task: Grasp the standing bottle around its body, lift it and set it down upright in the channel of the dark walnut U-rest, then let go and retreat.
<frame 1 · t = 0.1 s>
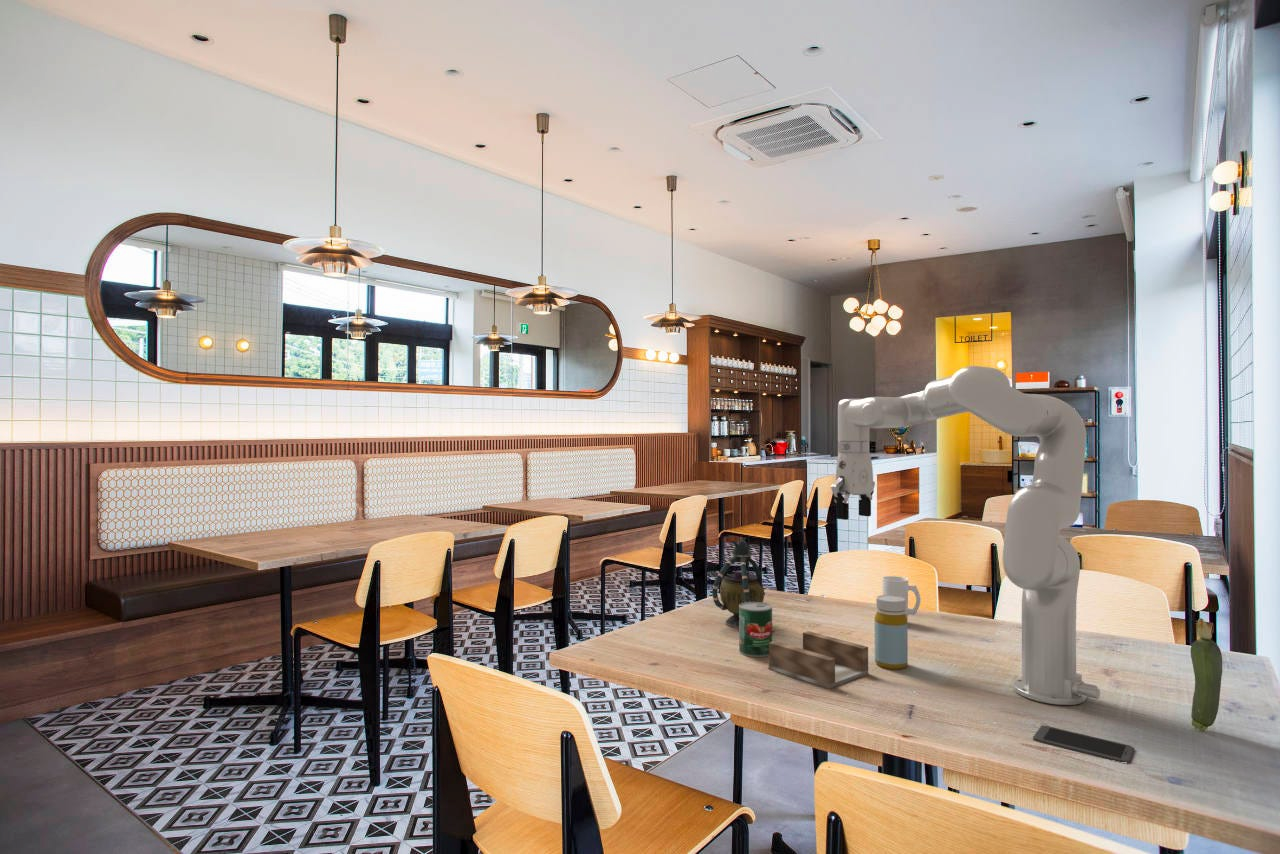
hand: (853, 517, 179), 31 cm above the table, fingers open, 9 cm apart
vegetable: (1206, 732, 126), on the table
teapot: (746, 621, 200), on the table
cell phone: (1082, 747, 121), on the table
mug: (901, 624, 196), on the table
bottle: (891, 665, 162), on the table
canned tomato: (755, 652, 172), on the table
u rest: (818, 671, 158), on the table
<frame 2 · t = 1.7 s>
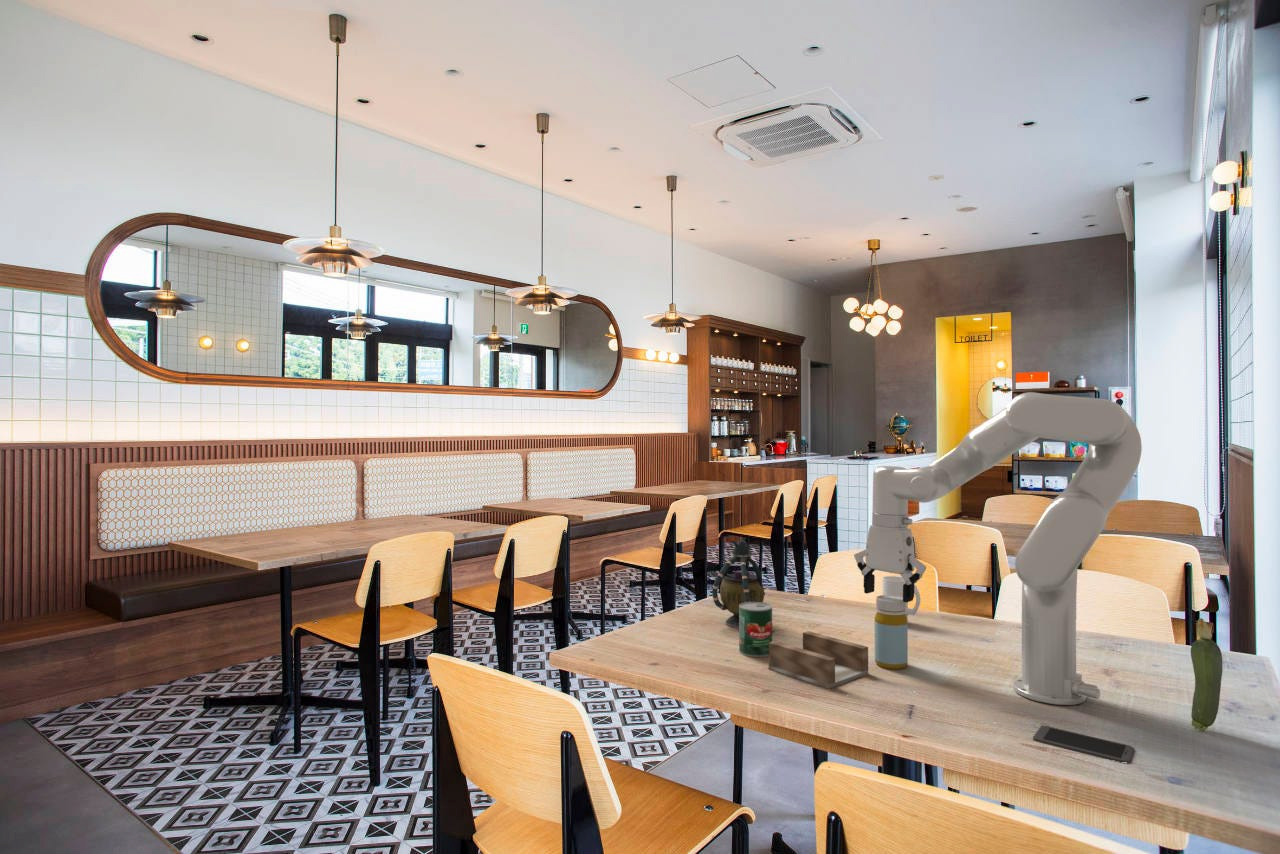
hand: (888, 596, 163), 15 cm above the table, fingers open, 9 cm apart
nothing on the table moved.
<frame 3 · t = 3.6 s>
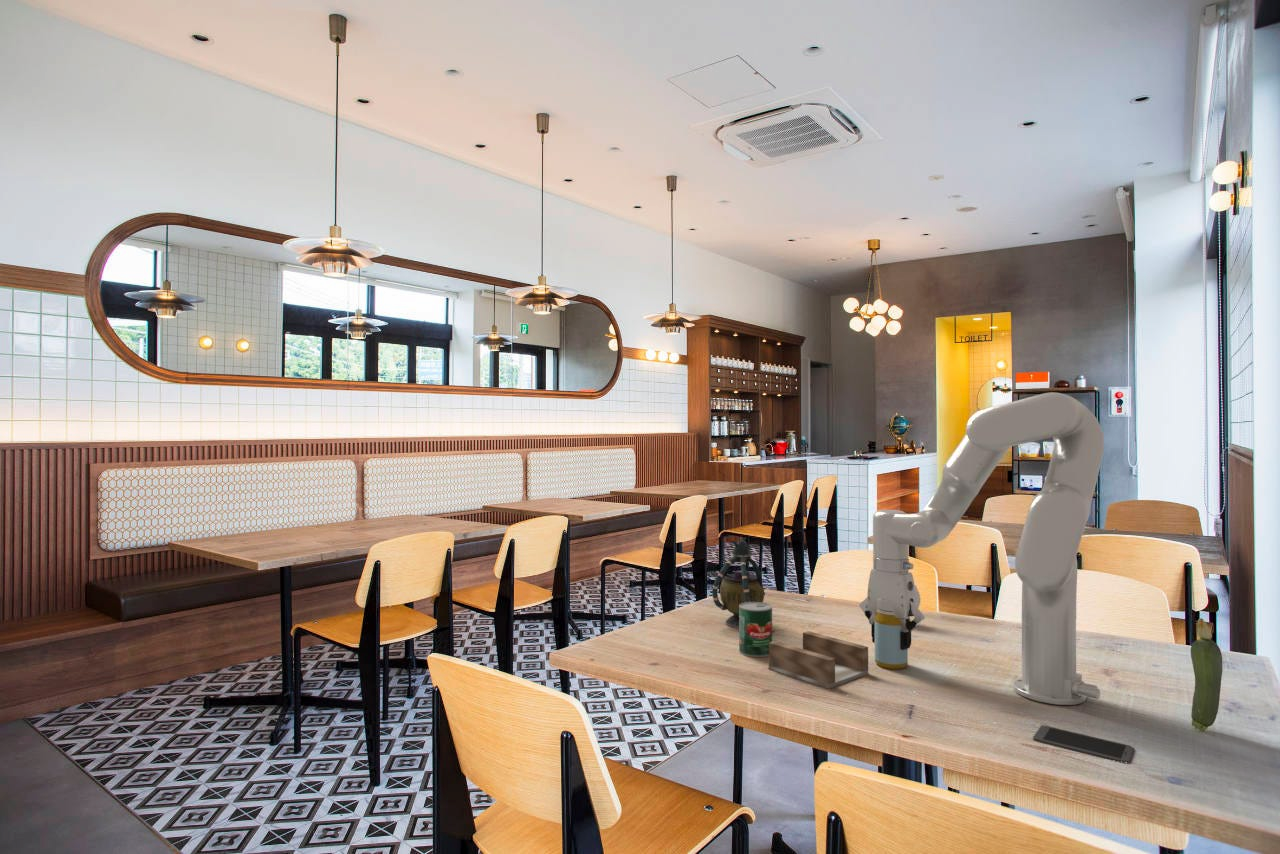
hand: (891, 644, 162), 5 cm above the table, fingers closed on bottle, 6 cm apart
bottle: (891, 665, 162), on the table, touching gripper
everything else where it was.
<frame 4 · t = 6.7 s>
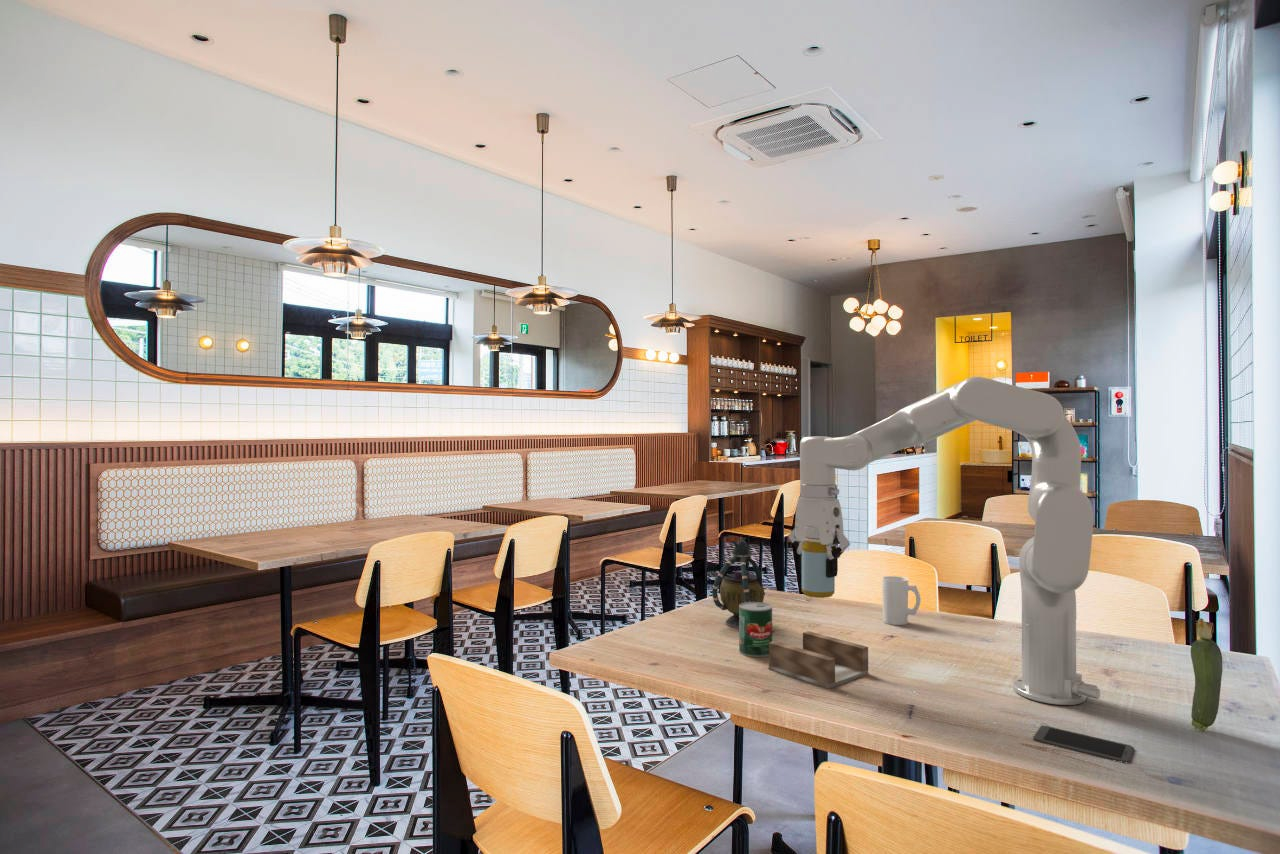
hand: (818, 573, 158), 21 cm above the table, fingers closed on bottle, 6 cm apart
bottle: (818, 595, 158), point 17 cm above the table, touching gripper
everything else where it was.
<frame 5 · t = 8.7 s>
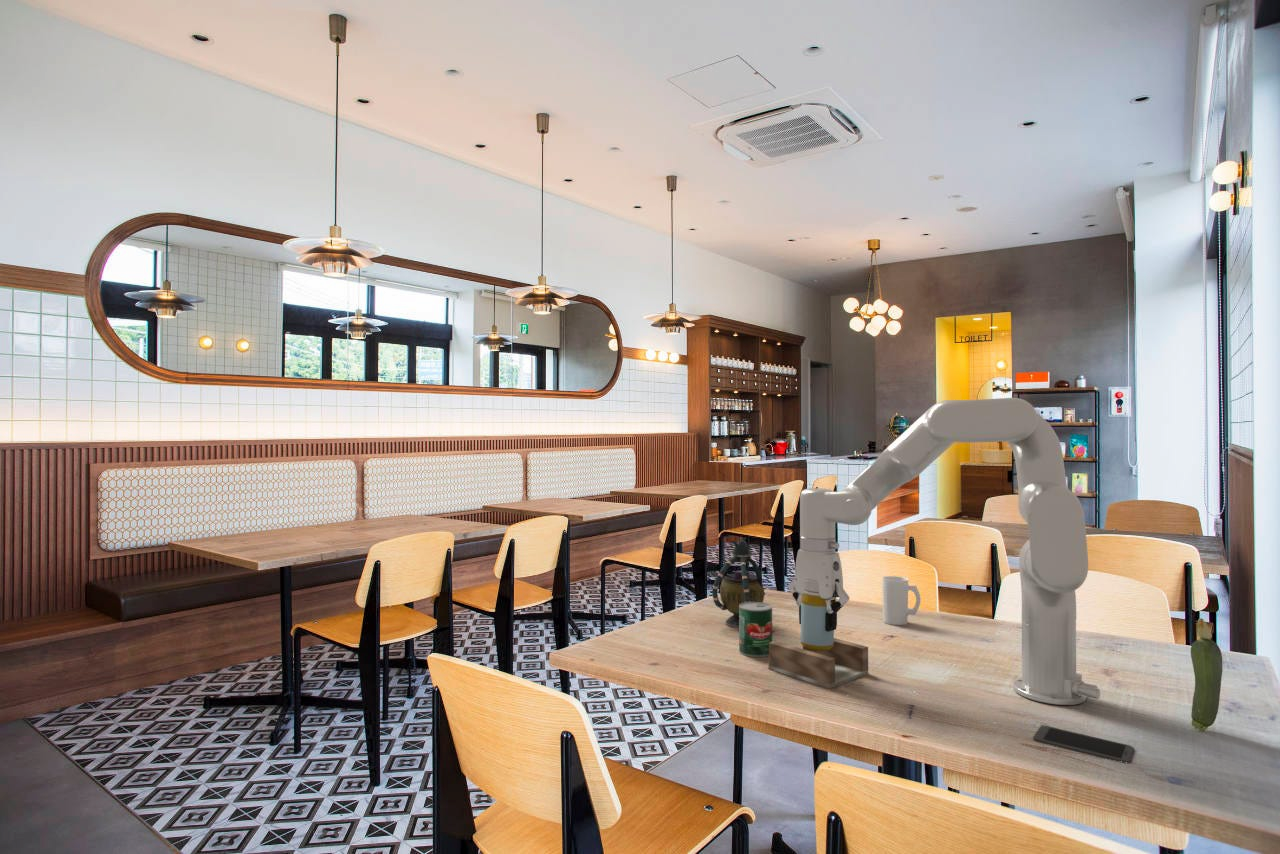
hand: (817, 626, 158), 10 cm above the table, fingers closed on bottle, 6 cm apart
bottle: (817, 647, 158), point 5 cm above the table, touching gripper
everything else where it was.
when the fingers open (7 cm above the table, at t = 10.3 s): bottle drops 1 cm, resting on u rest.
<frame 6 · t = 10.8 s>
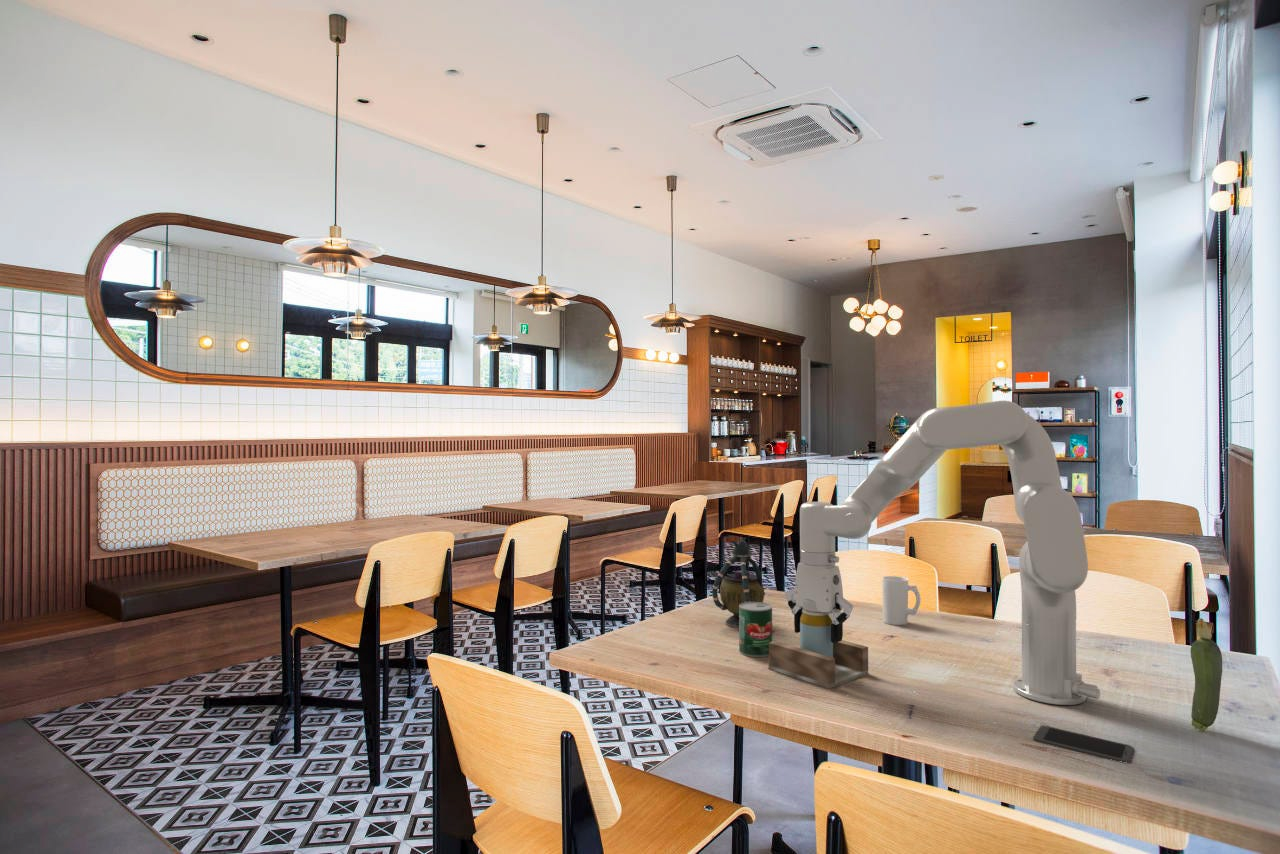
hand: (817, 636, 158), 8 cm above the table, fingers open, 9 cm apart
bottle: (816, 667, 159), point 1 cm above the table, touching u rest
everything else where it was.
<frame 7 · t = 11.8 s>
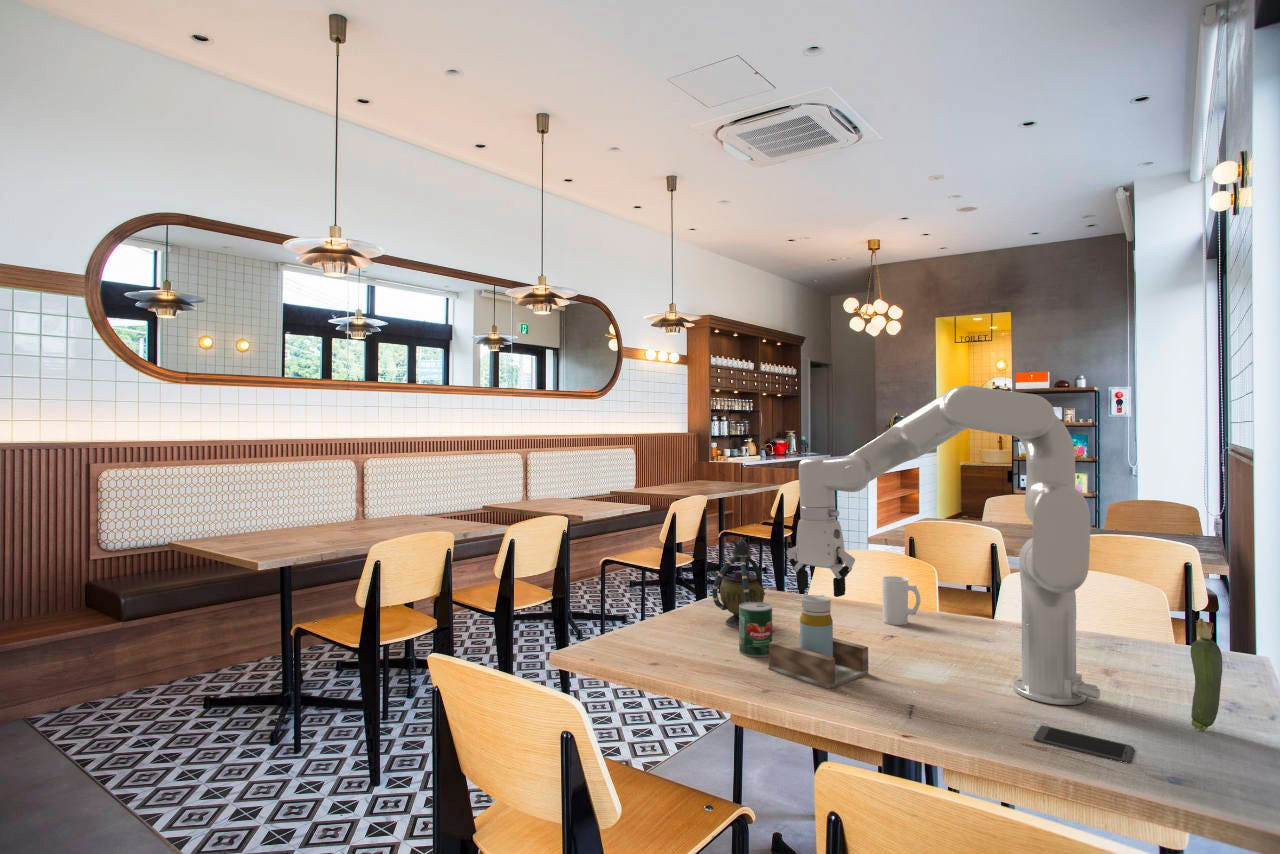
hand: (820, 592, 158), 17 cm above the table, fingers open, 9 cm apart
nothing on the table moved.
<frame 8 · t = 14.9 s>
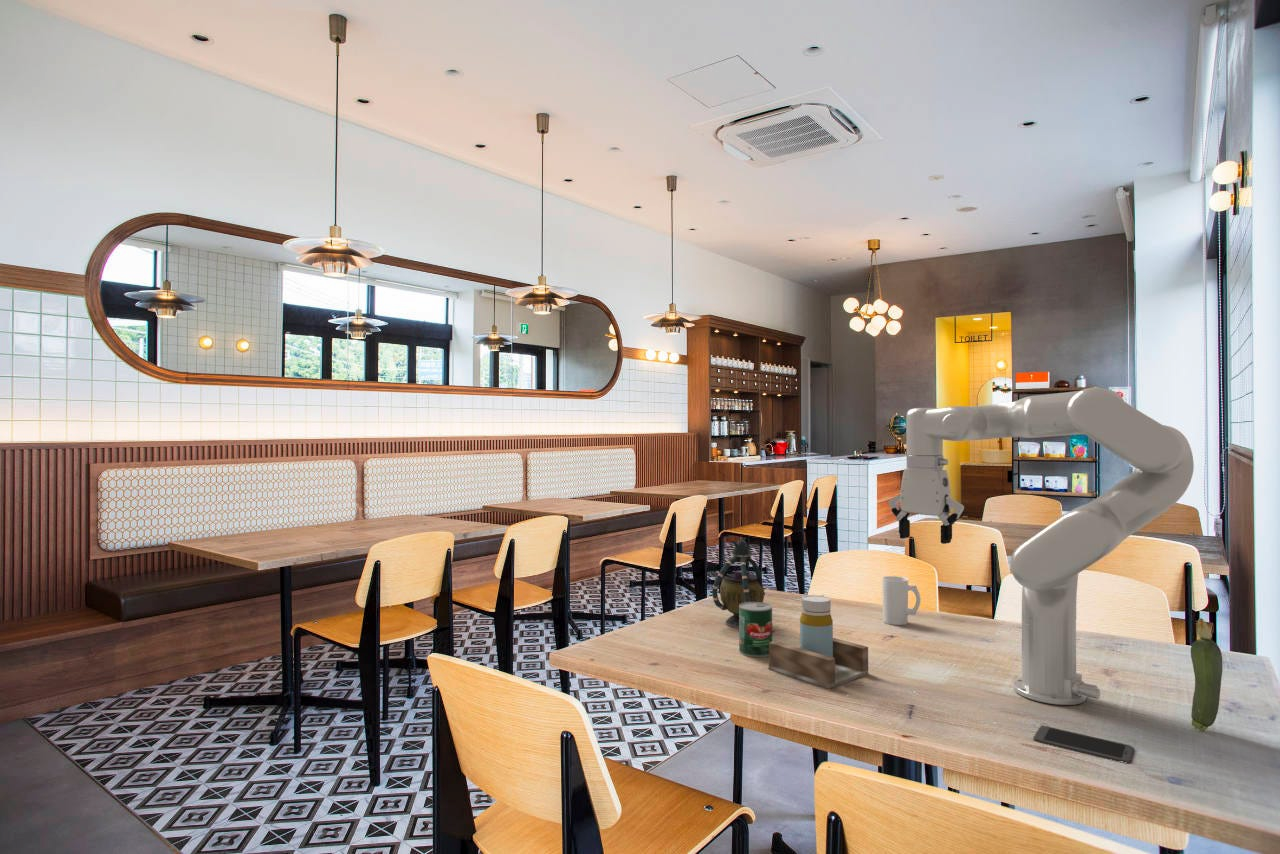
hand: (924, 540, 160), 28 cm above the table, fingers open, 9 cm apart
nothing on the table moved.
at the end: bottle inside the target area on the u rest (0.7 cm from its centre), point 0.6 cm above the u rest's base; bottle tilted 0°; the gripper is holding nothing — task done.
